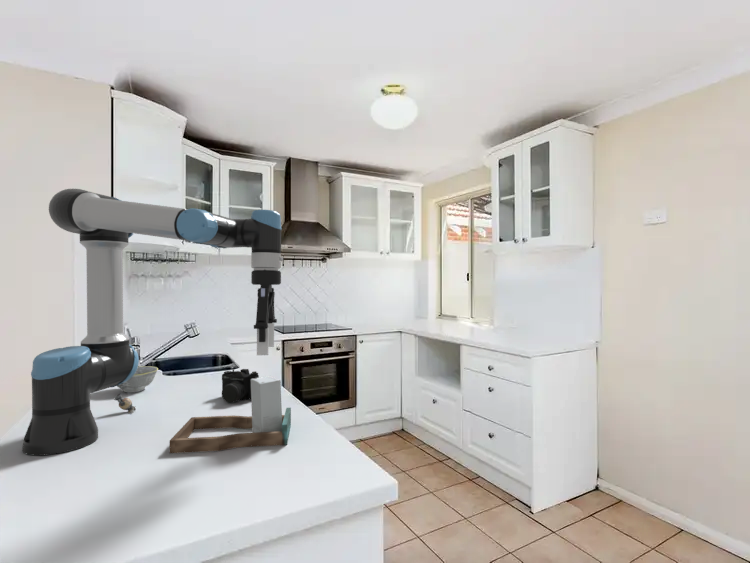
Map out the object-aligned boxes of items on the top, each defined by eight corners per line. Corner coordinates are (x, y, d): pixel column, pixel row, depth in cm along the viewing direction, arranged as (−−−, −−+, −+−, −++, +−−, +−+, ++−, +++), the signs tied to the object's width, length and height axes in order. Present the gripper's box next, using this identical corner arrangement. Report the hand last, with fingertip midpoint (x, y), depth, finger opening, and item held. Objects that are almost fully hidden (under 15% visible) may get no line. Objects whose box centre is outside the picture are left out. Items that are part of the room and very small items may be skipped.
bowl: (166, 388, 160) (166, 368, 160) (123, 398, 147) (123, 376, 147) (143, 383, 169) (143, 364, 169) (100, 392, 155) (100, 371, 155)
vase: (111, 416, 127) (111, 396, 127) (116, 412, 132) (116, 393, 132) (132, 414, 129) (132, 394, 129) (135, 410, 134) (135, 391, 134)
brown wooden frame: (169, 453, 99) (169, 432, 99) (191, 428, 116) (191, 410, 116) (286, 447, 102) (286, 426, 102) (291, 423, 120) (291, 405, 120)
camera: (208, 402, 141) (208, 372, 142) (228, 394, 152) (228, 366, 152) (243, 406, 137) (243, 375, 137) (261, 397, 147) (261, 369, 147)
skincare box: (283, 437, 109) (283, 380, 109) (260, 442, 105) (260, 383, 105) (272, 428, 116) (272, 374, 116) (250, 432, 112) (250, 377, 112)
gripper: (276, 268, 99) (275, 358, 99) (284, 271, 123) (284, 343, 123) (243, 267, 98) (242, 359, 98) (258, 271, 122) (258, 344, 122)
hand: (266, 350), depth 110 cm, fingers open, 13 cm apart
